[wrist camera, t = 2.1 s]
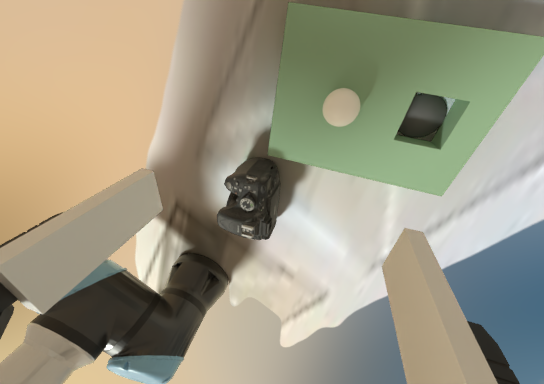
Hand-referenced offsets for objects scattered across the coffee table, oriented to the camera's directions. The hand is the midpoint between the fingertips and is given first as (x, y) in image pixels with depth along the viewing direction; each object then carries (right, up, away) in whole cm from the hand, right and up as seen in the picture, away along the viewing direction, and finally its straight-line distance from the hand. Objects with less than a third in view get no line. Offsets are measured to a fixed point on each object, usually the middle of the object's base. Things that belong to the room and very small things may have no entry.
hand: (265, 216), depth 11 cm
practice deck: (+13, +12, +16) cm, 24 cm away
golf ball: (+8, +11, +12) cm, 18 cm away
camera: (-2, +2, +27) cm, 27 cm away
